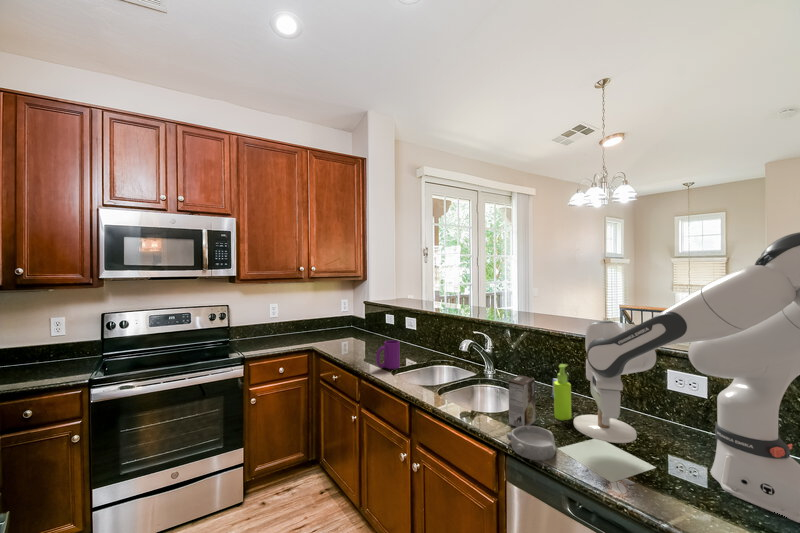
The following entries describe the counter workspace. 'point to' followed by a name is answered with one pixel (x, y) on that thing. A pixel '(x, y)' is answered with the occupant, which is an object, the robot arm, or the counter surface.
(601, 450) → the mat
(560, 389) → the soap dispenser
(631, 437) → the lid
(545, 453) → the dish
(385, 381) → the counter surface
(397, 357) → the mug
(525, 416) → the coffee box
